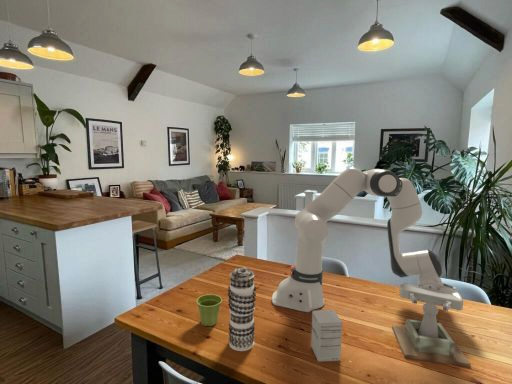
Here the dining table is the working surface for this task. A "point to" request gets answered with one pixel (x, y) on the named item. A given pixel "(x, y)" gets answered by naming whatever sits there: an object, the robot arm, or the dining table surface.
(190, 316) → the dining table surface
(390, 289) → the dining table surface
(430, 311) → the salt shaker
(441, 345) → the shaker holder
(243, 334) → the decorative candle
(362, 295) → the dining table surface
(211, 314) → the plant pot
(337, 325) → the supplement box
